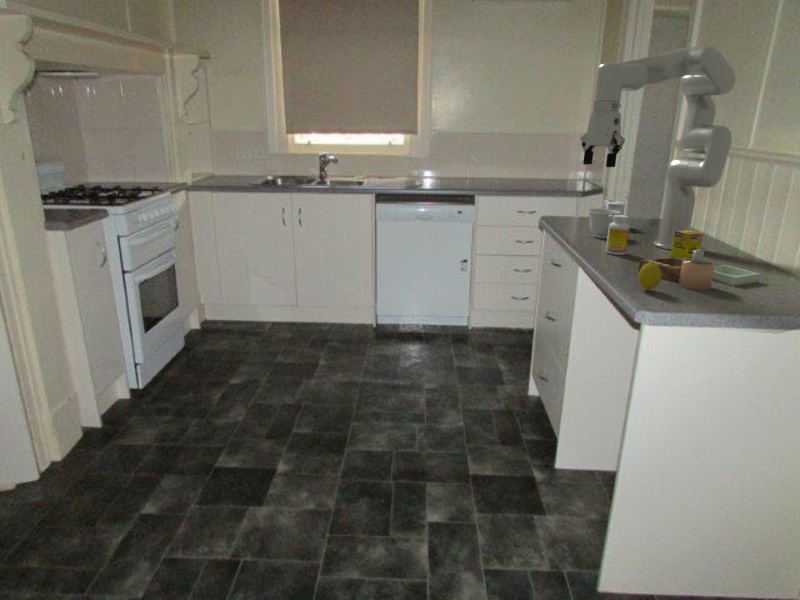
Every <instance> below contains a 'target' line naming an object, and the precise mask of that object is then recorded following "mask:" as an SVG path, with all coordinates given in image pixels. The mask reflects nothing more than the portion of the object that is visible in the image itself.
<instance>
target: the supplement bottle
mask: <svg viewBox="0 0 800 600" xmlns="http://www.w3.org/2000/svg"><path fill="white" fill-rule="evenodd" d="M628 220H629V216H628V215H626V214H625V215H624V214H623V215H614V216H613V222H612V223H610V225H609V229H608V237H607V238H606V246H605V252H606V253H607V254H608V253H609V255H612V254H614V255H613V256H624V255H626V254H627V251H628V250H627V249H628V243H629V242H628V241H629V236H630V228H631V227H630V225H629V224H628V223H627V222H628Z"/></svg>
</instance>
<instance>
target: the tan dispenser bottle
mask: <svg viewBox="0 0 800 600" xmlns="http://www.w3.org/2000/svg"><path fill="white" fill-rule="evenodd" d="M704 255H705V251H704V250H702V249H701V248H700V249H697V250H694V251H693V256H692V258H685V259H683V261H682V266H681V272H680V277H679V279H678V286H679V287H682V288H684V289H686V290H692V291H694V290H695V291H708V290H710V289H711V288H712V287H711V286H712V283H713V282H712V281H713V280H712V277H713V272H714V267H715V266H716V263H715V262H714V261H712V260H708V259H706V258H705V259H704Z"/></svg>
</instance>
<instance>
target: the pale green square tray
mask: <svg viewBox="0 0 800 600" xmlns="http://www.w3.org/2000/svg"><path fill="white" fill-rule="evenodd" d="M760 277H761V273H759V272H754V271H750V270H749V269H743V268H739V267H735V266H731V265H727V264H721V265H720V264H719V265H715V267H714V272H713V277H712V281H713V282H716V283H720V284H725V285H728V286H732V287H737V286H744V285H748V284H749V285H750V284H754V283H755V284H756V283H759V282H760Z"/></svg>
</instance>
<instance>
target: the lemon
mask: <svg viewBox="0 0 800 600" xmlns="http://www.w3.org/2000/svg"><path fill="white" fill-rule="evenodd" d="M661 280H662V278H661V270H660V267H659V266H658V265H657V264H655V263H654V262H650V263H647V264H645V265H643V266H642V268H641V269H640V272H639V271H638V280H637V281H638V282H639V283H638V284H639V285H640V286H641V287H642V288H643V289H644V290H645V291H650V290H652V289H655V288H657V287H658V285H659V284H660V283H661Z"/></svg>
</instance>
